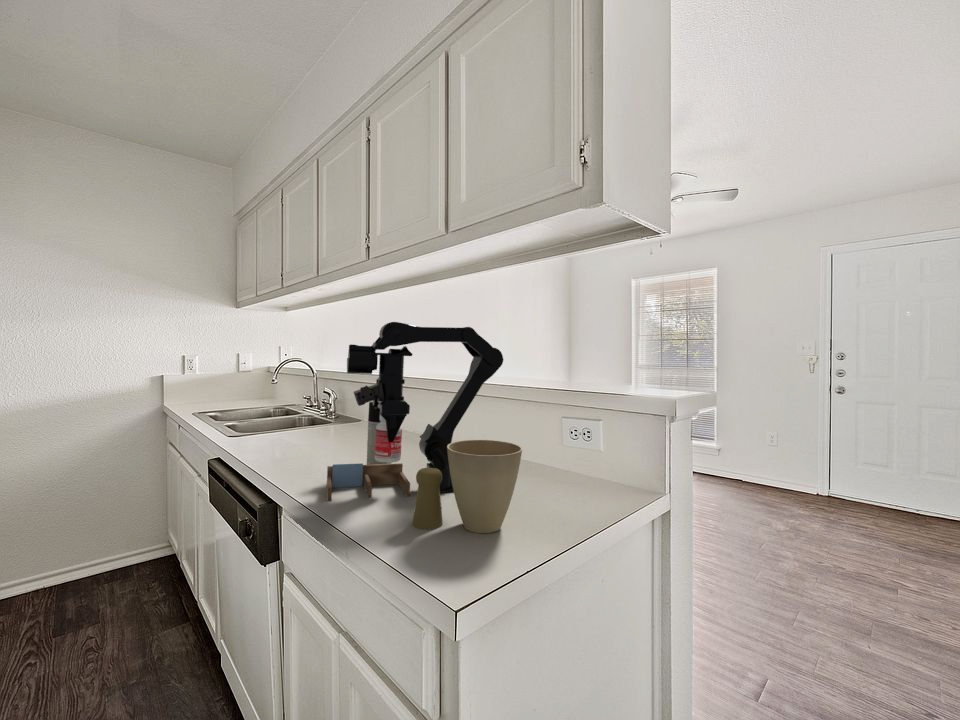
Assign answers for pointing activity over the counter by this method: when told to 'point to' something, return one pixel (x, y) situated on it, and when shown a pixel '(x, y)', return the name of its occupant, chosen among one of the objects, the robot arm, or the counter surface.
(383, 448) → the pill bottle
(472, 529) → the plant pot
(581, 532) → the counter surface
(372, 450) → the spray can
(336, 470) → the divider rack
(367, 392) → the robot arm
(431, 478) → the olive green peg figure
